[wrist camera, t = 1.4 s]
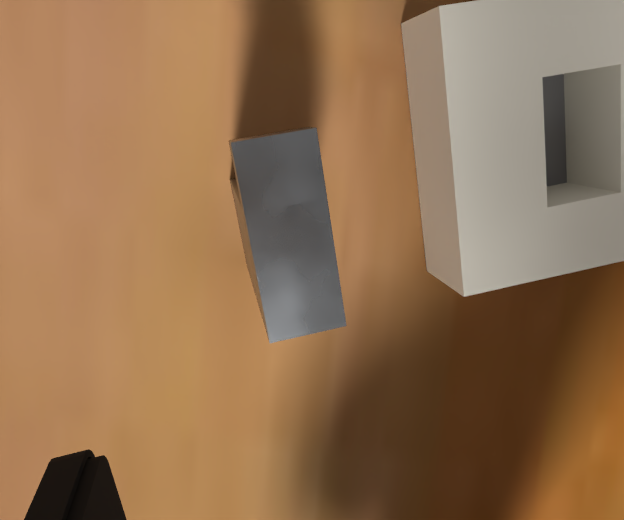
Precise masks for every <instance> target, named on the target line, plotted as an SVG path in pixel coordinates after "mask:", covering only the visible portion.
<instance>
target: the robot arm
mask: <svg viewBox="0 0 624 520" xmlns="http://www.w3.org/2000/svg"><path fill="white" fill-rule="evenodd" d="M24 520H126V517H125V513H124V510H123V507H122V504H121V501H120V498H119V494H118V491H117V488H116V485H115V482H114V478H113V475H112V472H111V469H110V466H109V463H108V460H107V458H106V457H105V456H104V455H103V456H99V457H95V456H94V454H93V452H92V451H91V450H85V451H81V452H77V453H73V454H69V455H65V456H61V457H56V458H53V459H51V461H50V462H49V464H48V466H47V469H46V471H45V473H44V475H43V478H42V480H41V482H40V485H39V487H38V489H37V491H36V494H35V496H34V498H33V500H32V503H31V505H30V507H29V510H28V512H27V514H26V516H25V519H24Z"/></svg>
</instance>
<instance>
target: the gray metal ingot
mask: <svg viewBox="0 0 624 520" xmlns="http://www.w3.org/2000/svg"><path fill="white" fill-rule="evenodd" d="M229 145H230V150H231V156H232V161H233V166H234V171H235V176H236V178H235V179H230V183H231V188H232V193H233V198H234V203H235V208H236V213H237V218H238V223H239V228H240V233H241V238H242V243H243V248H244V253H245V258H246V263H247V268H248V271H249V274H250V278H251V281H252V285H253V288H254V291H255V295H256V298H257V302H258V305H259V308H260V312H261V315H262V319H263V322H264V325H265V329H266V332H267V335H268V339H269V342H270V343H273V342H277V341H282V340H286V339H291V338H295V337H300V336H304V335H308V334H313V333H317V332H322V331H326V330H331V329H335V328H339V327H344V326H346V320H345V313H344V307H343V300H342V293H341V287H340V280H339V274H338V267H337V260H336V254H335V247H334V241H333V234H332V227H331V221H330V214H329V208H328V201H327V194H326V188H325V181H324V175H323V168H322V161H321V155H320V148H319V142H318V135H317V128H315V127H305V128H299V129H293V130H287V131H281V132H275V133H270V134H264V135H258V136H252V137H246V138H241V139H235V140H229Z"/></svg>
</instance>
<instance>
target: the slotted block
mask: <svg viewBox="0 0 624 520" xmlns="http://www.w3.org/2000/svg"><path fill="white" fill-rule="evenodd" d="M401 28H402V38H403V48H404V57H405V67H406V76H407V86H408V96H409V105H410V115H411V124H412V134H413V144H414V153H415V163H416V172H417V182H418V192H419V201H420V211H421V220H422V230H423V240H424V249H425V259H426V268H427V272H429V273H430V274H432V275H433V276H435V277H436V278H438V279H439V280H440V281H442V282H443V283H445V284H446V285H448V286H449V287H450V288H452V289H453V290H455V291H456V292H458V293H459V294H461V295H462V296H463V297H466V296H470V295H474V294H479V293H483V292H488V291H492V290H497V289H501V288H506V287H510V286H514V285H519V284H523V283H528V282H532V281H537V280H541V279H546V278H550V277H554V276H559V275H563V274H568V273H572V272H577V271H581V270H586V269H590V268H594V267H599V266H603V265H608V264H612V263H617V262H621V261H624V0H476V1H469V2H462V3H456V4H449V5H442V6H438V7H436V8H433V9H431V10H429V11H427V12H425V13H423V14H420V15H418V16H416V17H414V18H412V19H410V20H407V21H405V22H403V23H401Z"/></svg>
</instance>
